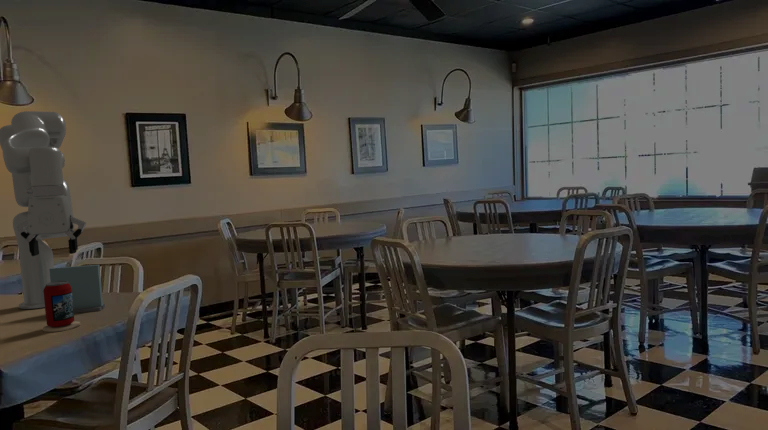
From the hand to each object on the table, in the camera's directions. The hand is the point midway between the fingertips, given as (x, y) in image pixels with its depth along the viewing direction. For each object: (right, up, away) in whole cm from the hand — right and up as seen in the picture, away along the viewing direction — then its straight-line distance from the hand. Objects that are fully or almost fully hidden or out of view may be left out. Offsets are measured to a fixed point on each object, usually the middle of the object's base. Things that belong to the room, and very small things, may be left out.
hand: (54, 254), depth 155 cm
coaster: (+1, -20, +1) cm, 21 cm away
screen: (-5, -19, +21) cm, 29 cm away
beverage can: (+1, -20, +1) cm, 20 cm away
